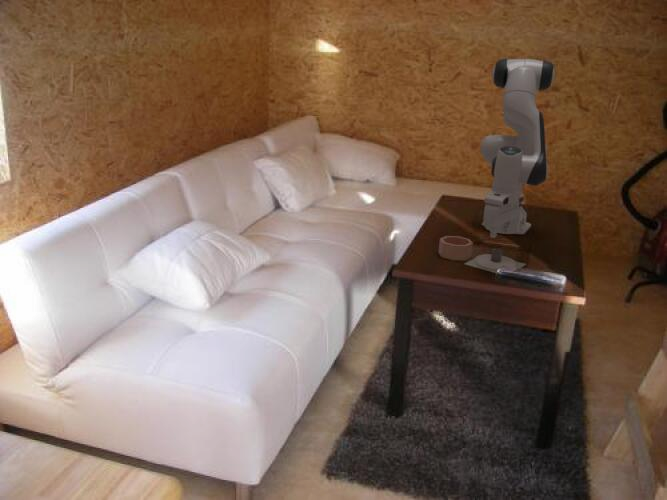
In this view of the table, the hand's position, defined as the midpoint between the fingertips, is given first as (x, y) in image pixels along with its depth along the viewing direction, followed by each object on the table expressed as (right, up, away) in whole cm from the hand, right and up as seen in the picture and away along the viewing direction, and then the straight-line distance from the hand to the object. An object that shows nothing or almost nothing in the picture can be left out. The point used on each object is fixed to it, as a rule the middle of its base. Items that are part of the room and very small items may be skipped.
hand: (499, 234), depth 223 cm
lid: (0, -10, +4) cm, 11 cm away
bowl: (-13, -8, +12) cm, 19 cm away
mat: (0, -11, +4) cm, 12 cm away
